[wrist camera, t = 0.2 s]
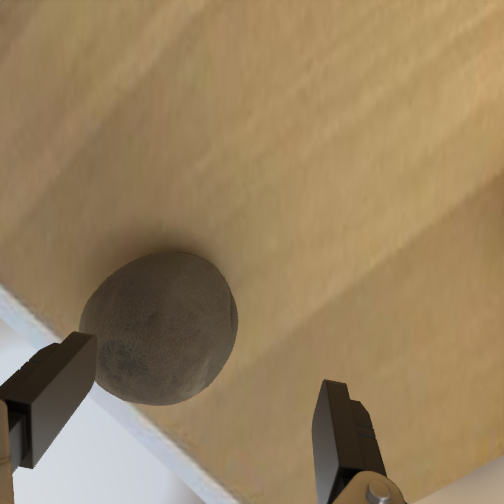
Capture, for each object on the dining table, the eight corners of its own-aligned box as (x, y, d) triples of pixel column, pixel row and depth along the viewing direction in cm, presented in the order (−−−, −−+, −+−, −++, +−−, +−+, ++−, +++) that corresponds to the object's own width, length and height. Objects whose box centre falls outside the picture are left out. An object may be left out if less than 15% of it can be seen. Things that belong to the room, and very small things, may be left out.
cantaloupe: (146, 212, 42) (75, 257, 28) (264, 265, 43) (253, 335, 29) (108, 316, 47) (31, 400, 33) (215, 363, 48) (186, 464, 33)
